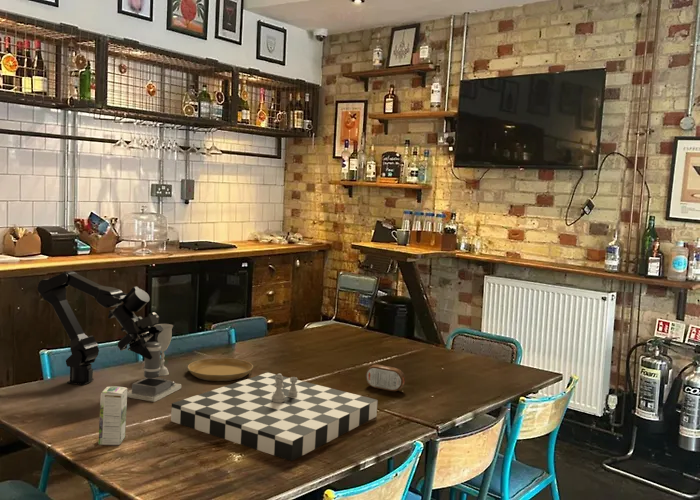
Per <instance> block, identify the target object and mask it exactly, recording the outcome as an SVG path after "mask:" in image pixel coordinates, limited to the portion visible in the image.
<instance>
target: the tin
mask: <svg viewBox="0 0 700 500" xmlns="http://www.w3.org/2000/svg"><path fill="white" fill-rule="evenodd" d="M364 377H365V380H366V381H365V382H367V384H368V385H369V386H370V387H371V388H375V389H380V390H385V391H389V392H398V391H400V390H401V389H403V388H404V386H405V384H406V376H405V373H404V372H403V371H402V370H401V369H400V368H397V367H392V366H388V365H387V366H386V365H383V364H376V363H375V364H372V365H371V366H369V367H368V368H367V369H366V371H365V376H364Z"/></svg>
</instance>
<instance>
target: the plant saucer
mask: <svg viewBox="0 0 700 500" xmlns="http://www.w3.org/2000/svg"><path fill="white" fill-rule="evenodd" d="M253 368H254V365H253V364H252V363H251V362H249V361H247V360H243V359H238V358H231V357H230V358H229V357H213V358H212V357H211V358H205V359H204V358H203V359H199V360H195V361H193V362H190V363H189V364H188V365H187V370H188V371H189V373H190V374H191V375H192V376H193V377H195V378H196V379H197V378H198V379H200V380H203V381H210V382H230V381H236V380H241V379H242V378H244V377H246V376H247V375H249V373H251V371H252V370H253Z"/></svg>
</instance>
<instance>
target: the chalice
mask: <svg viewBox="0 0 700 500" xmlns="http://www.w3.org/2000/svg"><path fill="white" fill-rule="evenodd" d="M155 325H161V326H162V328H163V329H164V330H163V331H162V332H161V333H160V334H159V335H158V342H159V343H161V353H162V355H160V376H161V377H162V376H168V375H169V374H170V373H169V370H168V368H167V366H165V361H166V360H165V356H166V355H165V351H167V350H168V347H169V346H170V344H171V341H172V333H173V331H172V329H173V327H174V324H169V323H158V324H154V325H153V326H155ZM160 376H159V377H160Z"/></svg>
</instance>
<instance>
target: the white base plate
mask: <svg viewBox="0 0 700 500" xmlns="http://www.w3.org/2000/svg"><path fill="white" fill-rule="evenodd" d="M181 389H182V384H181V383H176V381H172V380H171V379H165V378H162V377H156V378H146V377H144V378H142V379H140V380H138V381H135V382H133V383H132V384H131V389H129V390H127V398H129V399H130V398H131V399H136V400H140V401H141V400H143V401H148V402H153V403H155V402H157V401H159V400H161V399H164V398H165V397H167V396H169V395H171V394H172V393H175V392H177V391H178V390H181Z"/></svg>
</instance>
